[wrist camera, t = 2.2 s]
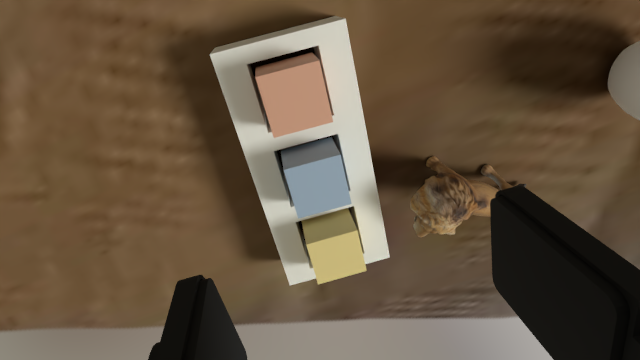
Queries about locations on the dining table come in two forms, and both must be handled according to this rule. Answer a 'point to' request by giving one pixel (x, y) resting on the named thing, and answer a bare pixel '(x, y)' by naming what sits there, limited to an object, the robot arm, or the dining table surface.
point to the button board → (303, 136)
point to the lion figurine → (452, 199)
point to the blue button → (315, 177)
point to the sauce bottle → (626, 80)
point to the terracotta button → (294, 94)
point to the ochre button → (333, 245)
